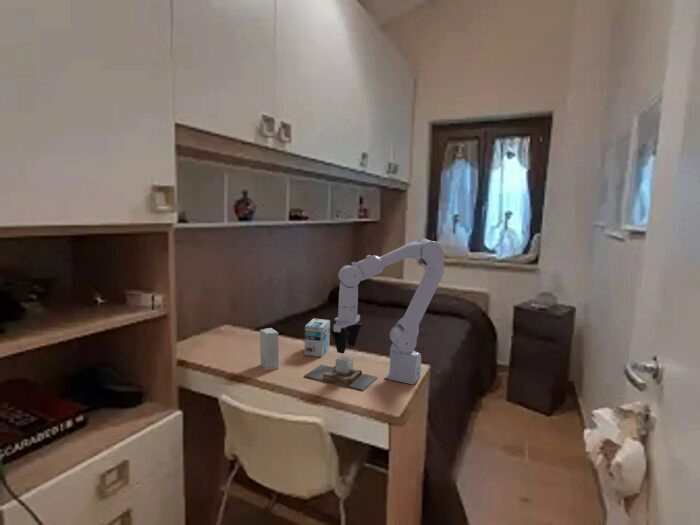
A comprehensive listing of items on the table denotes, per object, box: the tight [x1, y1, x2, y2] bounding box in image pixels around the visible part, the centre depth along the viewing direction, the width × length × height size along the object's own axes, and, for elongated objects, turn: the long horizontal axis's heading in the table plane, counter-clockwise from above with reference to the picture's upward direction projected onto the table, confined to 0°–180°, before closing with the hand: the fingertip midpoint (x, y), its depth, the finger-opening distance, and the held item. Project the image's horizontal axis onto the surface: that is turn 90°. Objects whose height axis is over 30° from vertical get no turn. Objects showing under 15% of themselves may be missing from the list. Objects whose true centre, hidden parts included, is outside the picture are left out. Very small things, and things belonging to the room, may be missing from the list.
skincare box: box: [259, 327, 280, 371], centre depth 146 cm, size 6×4×12 cm
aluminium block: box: [335, 355, 354, 378], centre depth 139 cm, size 4×4×6 cm
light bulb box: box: [304, 318, 331, 358], centre depth 162 cm, size 11×7×11 cm, turn 169°
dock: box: [303, 364, 378, 392], centre depth 140 cm, size 20×11×2 cm, turn 65°
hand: (346, 349), depth 138 cm, fingers open, 7 cm apart
